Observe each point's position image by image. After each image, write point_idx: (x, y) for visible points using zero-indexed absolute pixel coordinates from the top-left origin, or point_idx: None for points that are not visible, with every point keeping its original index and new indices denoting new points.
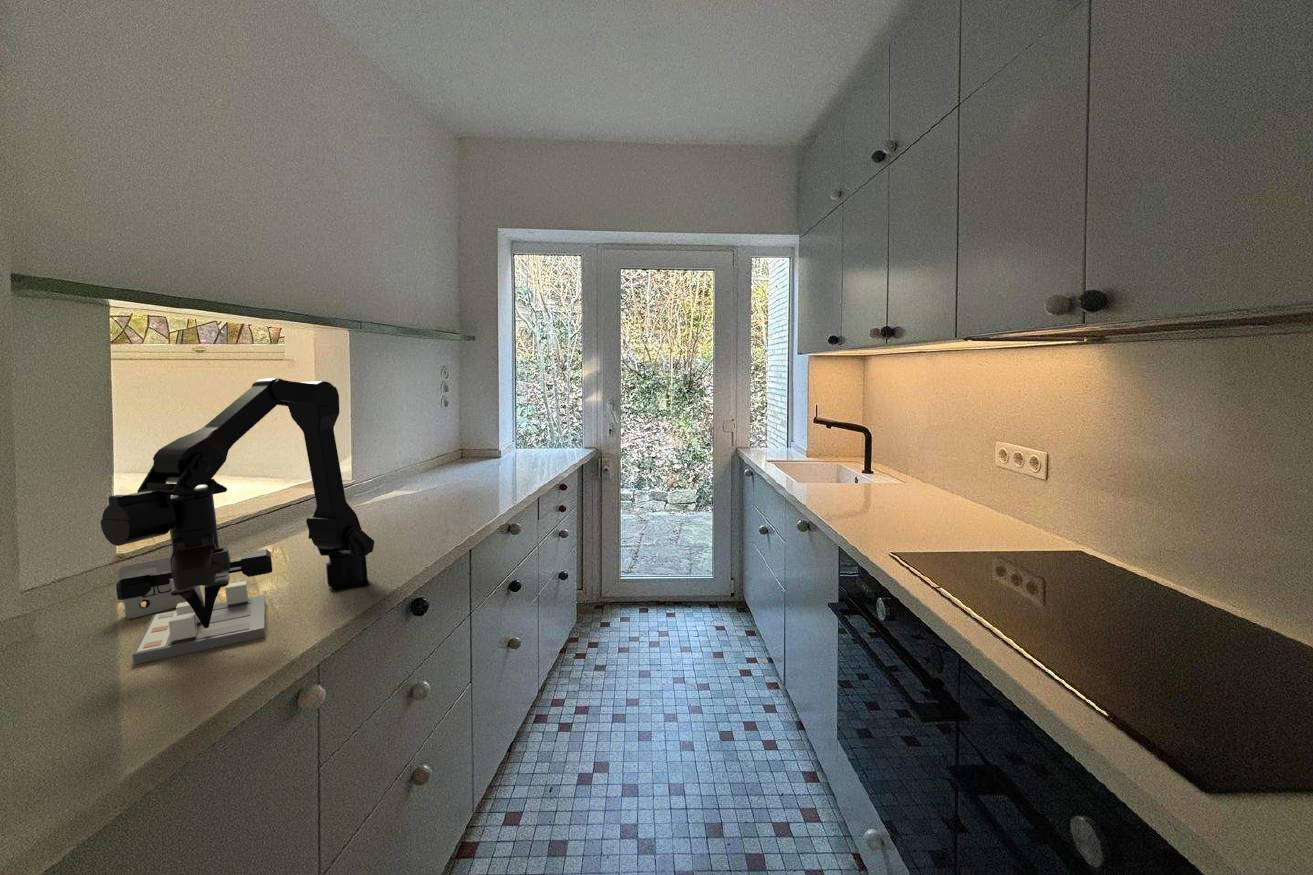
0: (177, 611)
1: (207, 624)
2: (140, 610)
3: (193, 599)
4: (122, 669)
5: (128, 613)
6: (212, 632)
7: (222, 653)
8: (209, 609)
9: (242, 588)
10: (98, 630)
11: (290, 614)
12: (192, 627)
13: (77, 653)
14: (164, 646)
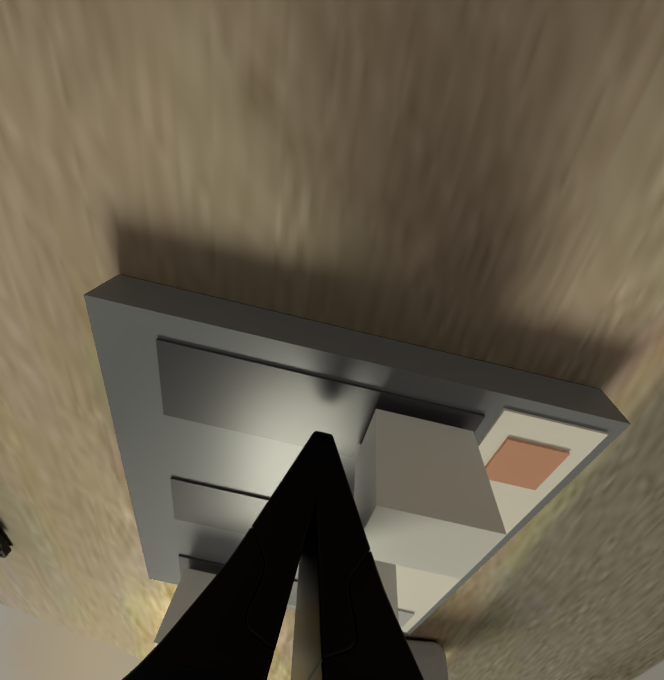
0: (394, 609)
1: (316, 442)
2: (418, 659)
3: (367, 670)
4: (653, 374)
5: (442, 661)
6: (305, 414)
7: (299, 210)
8: (279, 516)
9: (172, 627)
10: (505, 637)
11: (69, 435)
12: (385, 451)
13: (616, 575)
14: (504, 410)
